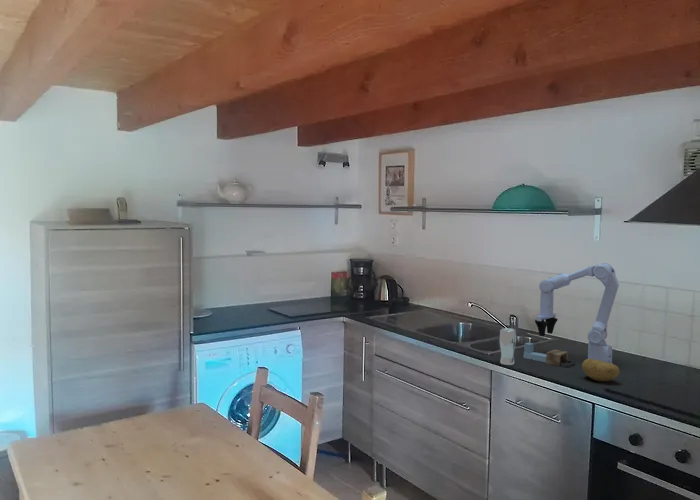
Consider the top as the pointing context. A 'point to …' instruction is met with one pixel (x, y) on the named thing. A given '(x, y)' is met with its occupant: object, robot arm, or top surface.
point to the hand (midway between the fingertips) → (545, 334)
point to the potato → (600, 370)
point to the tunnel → (556, 357)
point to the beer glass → (507, 345)
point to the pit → (567, 364)
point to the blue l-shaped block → (533, 353)
